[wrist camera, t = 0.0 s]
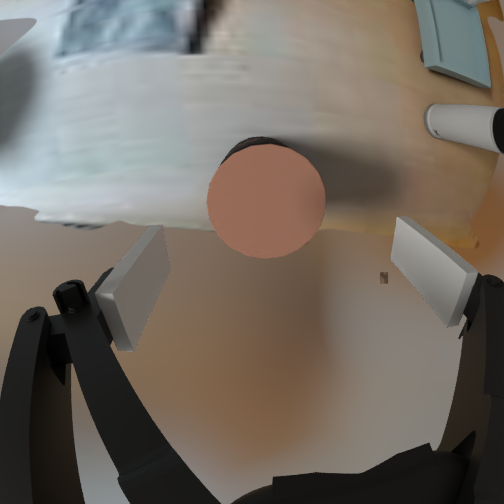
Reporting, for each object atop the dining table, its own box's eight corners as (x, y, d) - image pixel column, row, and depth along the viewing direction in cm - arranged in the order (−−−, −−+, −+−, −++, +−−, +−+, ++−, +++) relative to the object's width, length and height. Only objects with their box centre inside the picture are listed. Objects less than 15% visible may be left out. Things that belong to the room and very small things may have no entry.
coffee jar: (297, 138, 38) (332, 149, 22) (292, 207, 43) (318, 261, 27) (224, 135, 38) (206, 141, 22) (222, 204, 43) (207, 257, 26)
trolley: (403, -14, 24) (440, -37, 13) (460, 10, 24) (499, -1, 13) (417, 68, 32) (463, 60, 21) (472, 87, 32) (517, 89, 21)
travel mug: (426, 141, 38) (511, 164, 20) (420, 103, 35) (507, 108, 17) (451, 139, 37) (533, 161, 19) (446, 103, 34) (530, 111, 16)
